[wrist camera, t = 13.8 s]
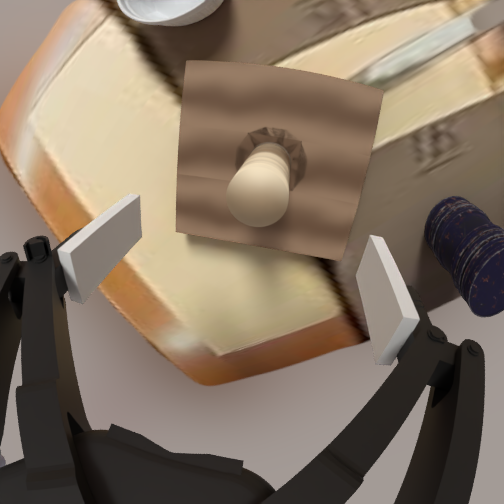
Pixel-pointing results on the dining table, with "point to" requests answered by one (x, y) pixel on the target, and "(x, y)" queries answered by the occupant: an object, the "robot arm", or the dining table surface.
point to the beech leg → (261, 186)
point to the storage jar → (469, 252)
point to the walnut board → (284, 133)
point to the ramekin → (168, 11)
